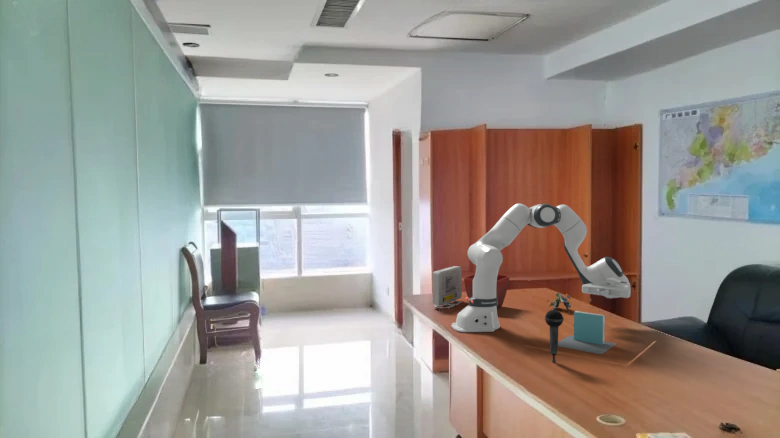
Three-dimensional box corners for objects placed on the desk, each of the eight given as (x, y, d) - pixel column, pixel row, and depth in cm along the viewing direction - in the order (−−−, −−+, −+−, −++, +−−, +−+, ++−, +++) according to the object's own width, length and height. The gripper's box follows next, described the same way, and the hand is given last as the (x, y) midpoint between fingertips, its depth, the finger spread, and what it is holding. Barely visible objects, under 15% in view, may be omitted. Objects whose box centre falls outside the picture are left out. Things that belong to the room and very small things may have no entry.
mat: (569, 336, 243) (569, 335, 243) (616, 344, 231) (616, 343, 231) (552, 346, 230) (552, 345, 229) (601, 355, 217) (601, 354, 217)
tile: (575, 338, 238) (576, 310, 238) (604, 343, 231) (604, 315, 230) (573, 339, 237) (574, 311, 236) (602, 344, 229) (602, 316, 228)
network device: (452, 299, 321) (452, 265, 319) (466, 301, 316) (466, 266, 314) (429, 308, 300) (428, 271, 299) (443, 310, 295) (443, 273, 294)
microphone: (560, 366, 205) (560, 313, 204) (542, 363, 209) (542, 310, 208) (565, 361, 211) (565, 309, 210) (547, 358, 215) (547, 307, 213)
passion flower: (567, 320, 292) (577, 305, 284) (547, 317, 290) (557, 302, 283) (561, 304, 300) (571, 289, 293) (542, 301, 299) (551, 286, 292)
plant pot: (510, 306, 303) (510, 275, 302) (497, 313, 287) (497, 281, 286) (477, 302, 313) (477, 272, 312) (463, 309, 297) (463, 278, 296)
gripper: (587, 279, 259) (576, 283, 248) (633, 283, 246) (624, 288, 235) (587, 292, 259) (576, 297, 249) (633, 297, 246) (624, 303, 236)
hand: (600, 293), depth 242 cm, fingers closed
